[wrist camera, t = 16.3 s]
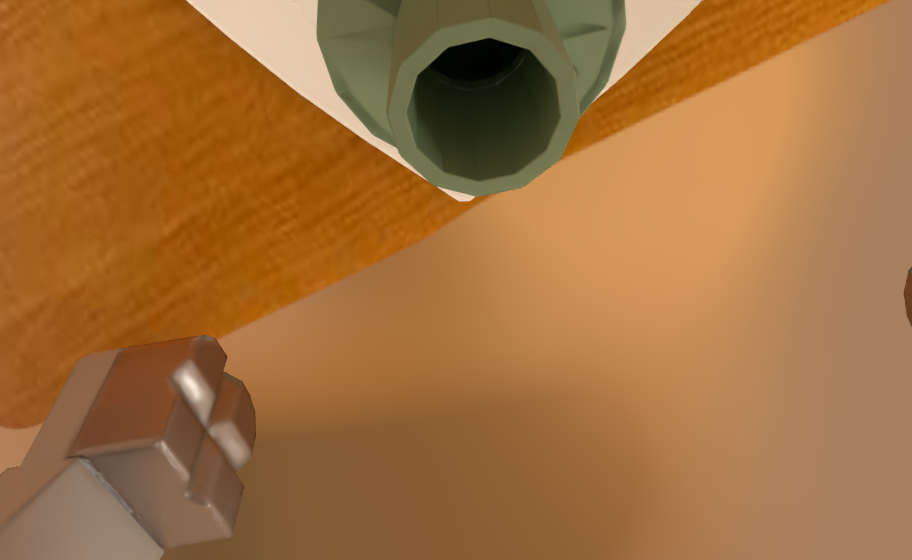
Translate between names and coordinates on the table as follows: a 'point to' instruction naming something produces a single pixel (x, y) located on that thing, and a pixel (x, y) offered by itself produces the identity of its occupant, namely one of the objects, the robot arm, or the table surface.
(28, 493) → the robot arm
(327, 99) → the plate
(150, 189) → the table surface
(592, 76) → the bottle
